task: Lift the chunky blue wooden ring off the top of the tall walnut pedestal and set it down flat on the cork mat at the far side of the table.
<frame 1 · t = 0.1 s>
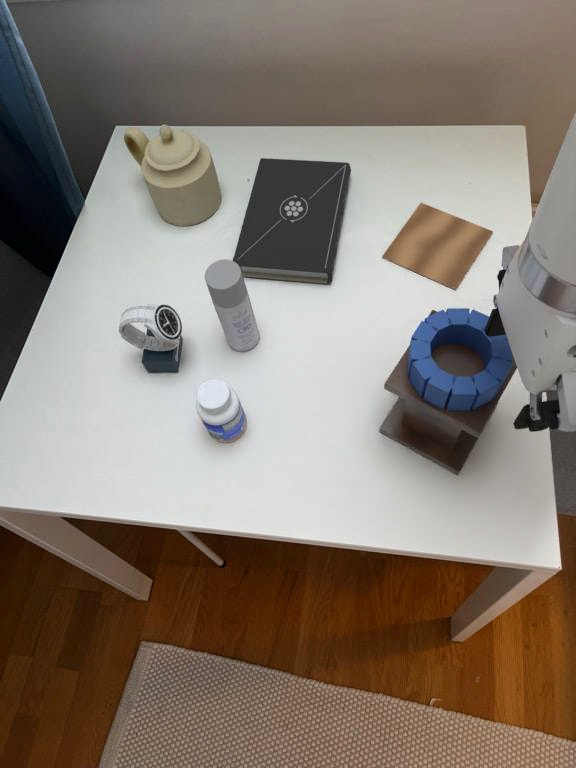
hand: (515, 376, 54), 21 cm above the table, tool pointing down, fingers open, 9 cm apart
ring: (454, 368, 62), point 14 cm above the table, touching platform
book: (295, 225, 91), on the table
pill bottle: (228, 425, 77), on the table
mat: (437, 245, 87), on the table
platform: (437, 418, 74), on the table
watch: (167, 355, 83), on the table
sugar bowl: (178, 201, 96), on the table
container: (244, 338, 83), on the table
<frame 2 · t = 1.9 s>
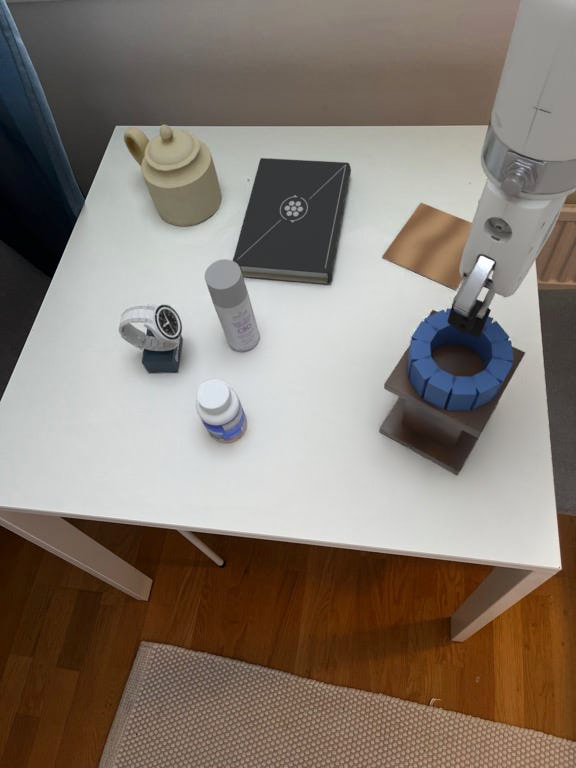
hand: (487, 290, 55), 23 cm above the table, tool pointing down, fingers open, 9 cm apart
nothing on the table moved.
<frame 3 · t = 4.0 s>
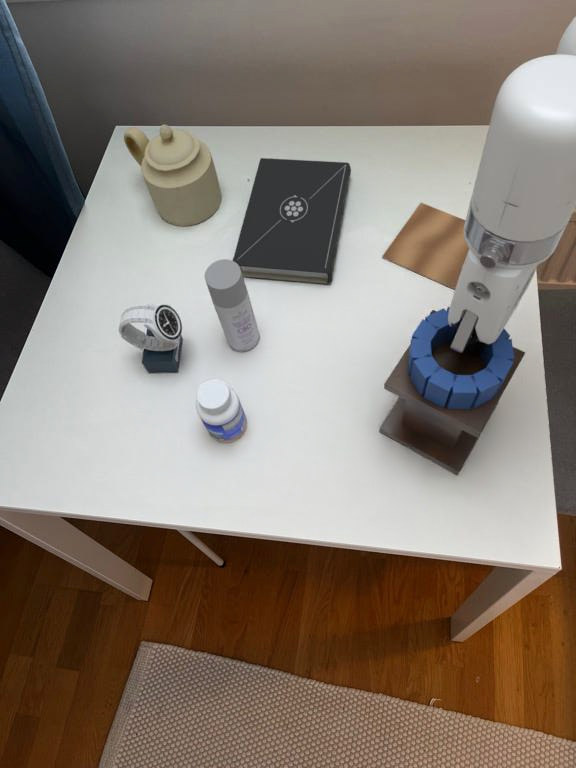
hand: (472, 337, 63), 15 cm above the table, tool pointing down, fingers closed on ring, 2 cm apart
ring: (455, 366, 62), point 14 cm above the table, touching gripper
everything else where it was.
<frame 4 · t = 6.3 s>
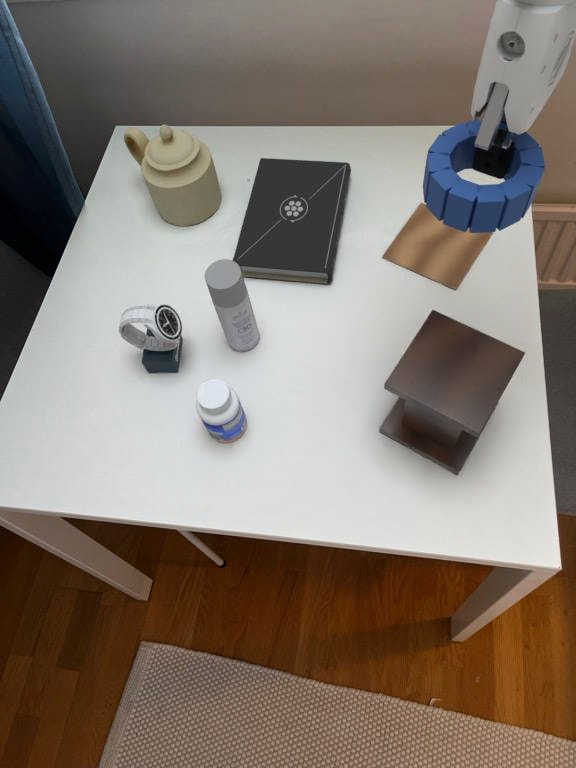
hand: (495, 160, 56), 28 cm above the table, tool pointing down, fingers closed on ring
ring: (476, 192, 55), point 27 cm above the table, touching gripper
everything else where it was.
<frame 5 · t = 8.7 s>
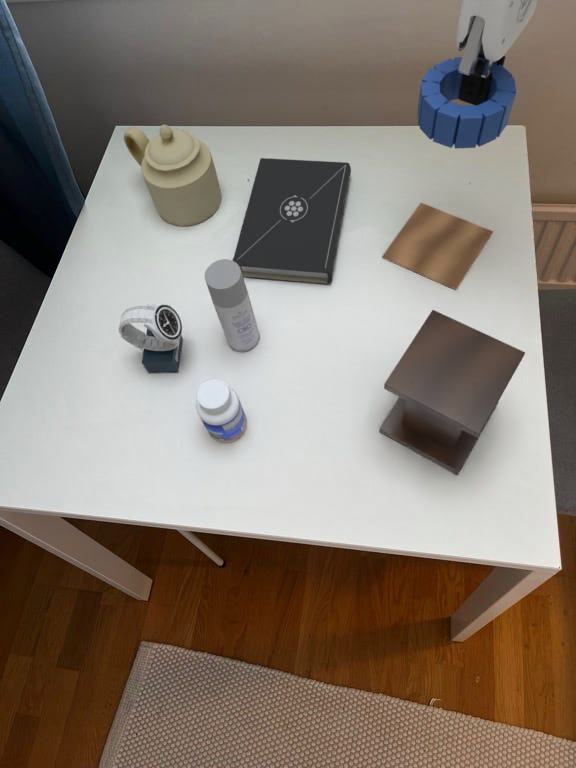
hand: (477, 92, 68), 23 cm above the table, tool pointing down, fingers closed on ring
ring: (461, 117, 67), point 22 cm above the table, touching gripper
everything else where it was.
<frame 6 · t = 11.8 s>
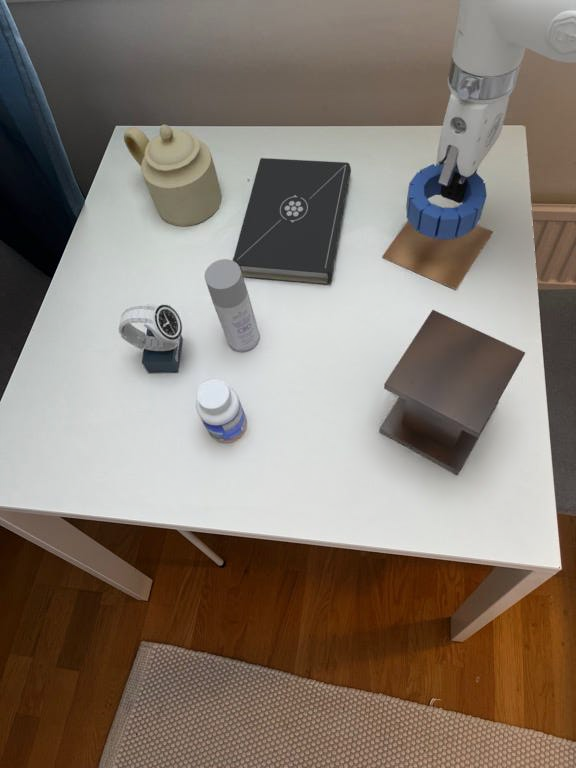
hand: (456, 190, 81), 8 cm above the table, tool pointing down, fingers closed on ring, 2 cm apart
ring: (442, 211, 81), point 7 cm above the table, touching gripper
everything else where it was.
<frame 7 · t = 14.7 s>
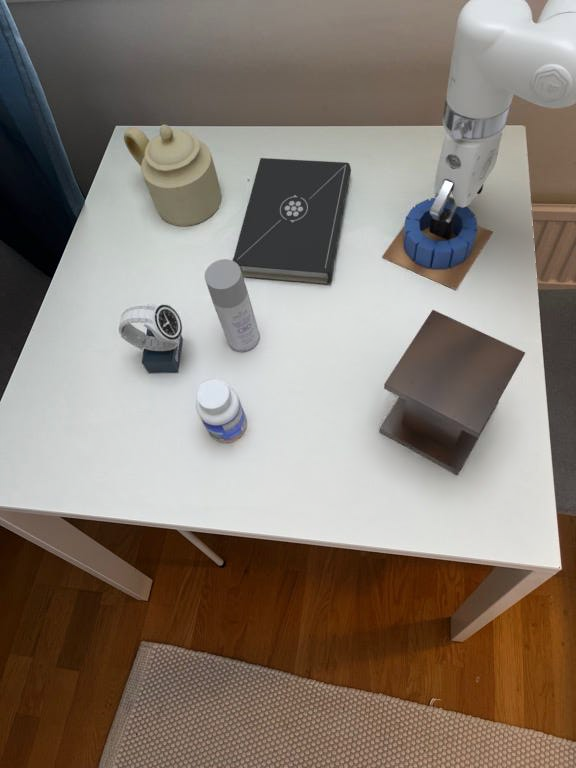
hand: (455, 212, 85), 3 cm above the table, tool pointing down, fingers open, 9 cm apart
ring: (437, 242, 86), resting on mat
everything else where it was.
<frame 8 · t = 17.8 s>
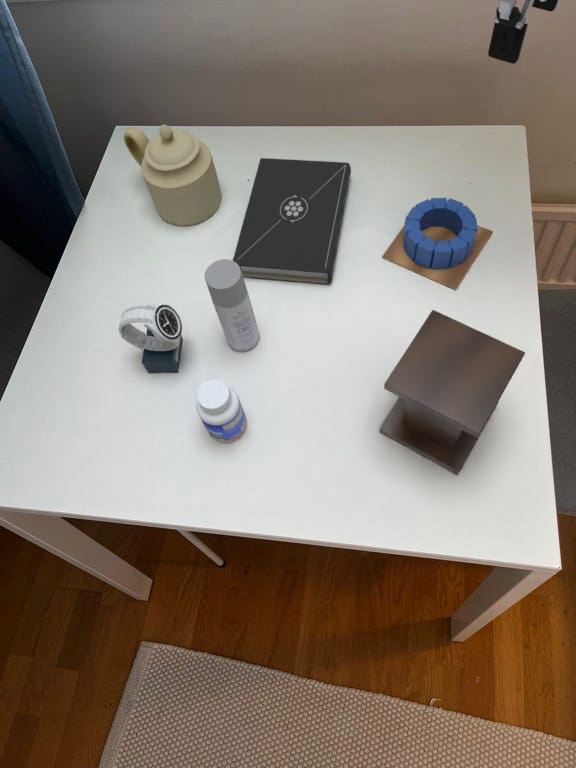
hand: (521, 32, 63), 28 cm above the table, tool pointing down, fingers open, 9 cm apart
nothing on the table moved.
at the end: ring inside the target area on the mat (0.2 cm from its centre), point 0.4 cm above the mat's base; ring touching mat; ring tilted 0° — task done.
